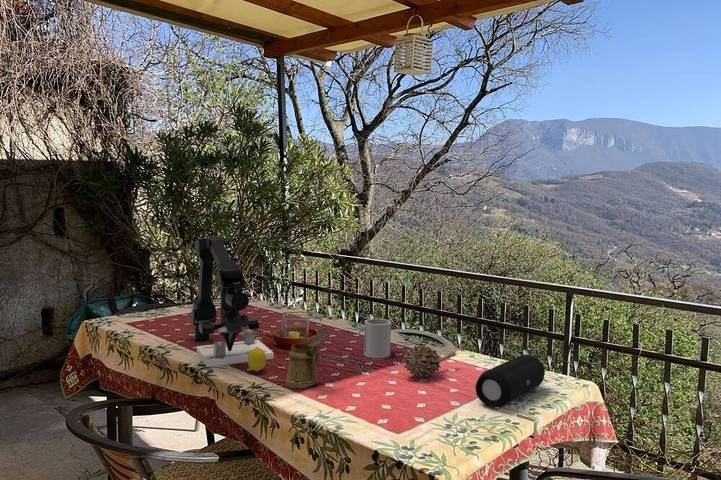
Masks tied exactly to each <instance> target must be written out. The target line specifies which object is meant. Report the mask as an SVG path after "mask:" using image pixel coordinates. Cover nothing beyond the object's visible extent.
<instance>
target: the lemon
mask: <svg viewBox="0 0 721 480" xmlns="http://www.w3.org/2000/svg"><path fill="white" fill-rule="evenodd" d="M266 362H267V360H266V356H265V353H264V351H263V350H262V349H260V348H258V347H256V348H254V349H252V350H251V351H250V353H249V355H248V362H247V364H248V367H249V368H250V369H251V370H252V371H255V373H258V372H260V371H261V370H262V369H264V367H265V365H266Z"/></svg>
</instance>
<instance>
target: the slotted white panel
mask: <svg viewBox="0 0 721 480" xmlns="http://www.w3.org/2000/svg"><path fill="white" fill-rule="evenodd" d="M224 344H225V342H224ZM256 347H258V348H260V349H262V350H263V351H264V353H265V356H266V361H267V360H273V359H274V358H275V355H274V354H275V353H274V352H273V351H272V350H271V349H270V348H269V347H267V346H266V345H265V344H264V343H263V342H262V341H261V340H259V339H255V343H249V344H246V343H245V342H244V341H243V340H242V341H234V344H233V347H232V350H231V351H228V349H227V346H226V344H225V354H226V357H218V358H216V357H215V356H214V344H206V345H200V346H199V345H198V346H196V354H197V355H198V356H199V358H200V359H201V360H202V362H203V363H204V365H205V366H206V368H211V367H218V366H220V367H221V366H225V365H226V366H228V365H234V364H235V365H236V364H241V363H248V355H249V353H250V351H251V350H252V349H254V348H256Z"/></svg>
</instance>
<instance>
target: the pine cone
mask: <svg viewBox="0 0 721 480" xmlns="http://www.w3.org/2000/svg"><path fill="white" fill-rule="evenodd" d="M406 351H407V353H405V354H404V355H403V358H404V359H403V360H402V362H404V364H405V365H404V366H403V368H405V371H408V372H409V374H412V376H414V375H416V377H418V378H419V377H423V376H424V375H425V376H424V377H428V376H429V375H430V376H432V375H434V374H435V373H436V372H439V371H440V370H439V369H440V368H441V365H440V363H442V362H444V361H446V360H449V359H452V357H453V358H454V357H457V353H458V351H457V350H451V351H450V352H449V353H448V354H446V355H444V356H441V355H439V353H437V350H436V349H432V348H431V347H430V346H425V345H421V344H419V345H418V346H417V345H415V346H414V347H413V348H411V349H410V348H409V349H407V350H406Z"/></svg>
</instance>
